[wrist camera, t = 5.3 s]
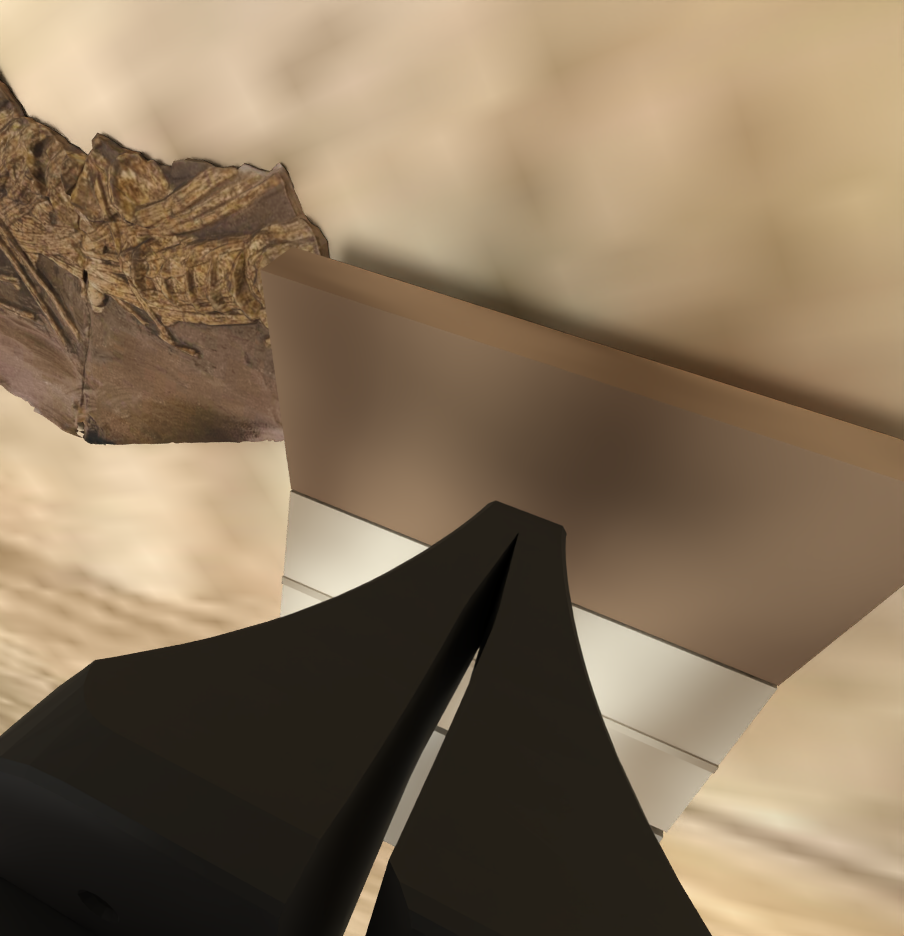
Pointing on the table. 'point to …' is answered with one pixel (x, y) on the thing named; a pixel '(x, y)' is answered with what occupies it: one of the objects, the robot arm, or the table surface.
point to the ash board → (604, 651)
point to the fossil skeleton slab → (139, 288)
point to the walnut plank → (588, 463)
